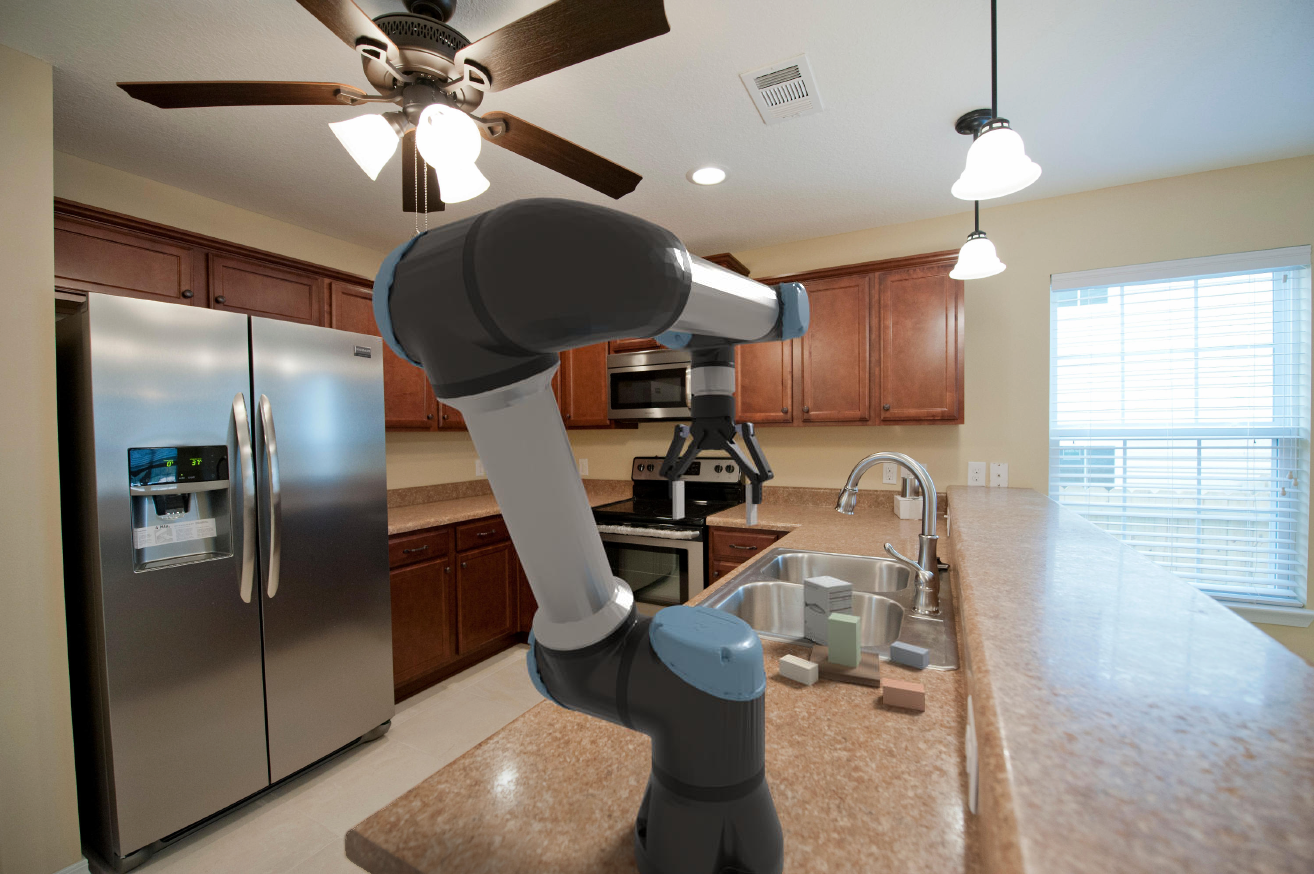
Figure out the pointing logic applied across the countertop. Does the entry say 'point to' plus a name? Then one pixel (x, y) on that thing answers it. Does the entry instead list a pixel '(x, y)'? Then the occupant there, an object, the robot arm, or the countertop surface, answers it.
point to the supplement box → (824, 605)
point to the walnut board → (848, 667)
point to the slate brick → (909, 655)
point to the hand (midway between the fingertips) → (713, 521)
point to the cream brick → (798, 669)
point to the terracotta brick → (903, 694)
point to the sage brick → (844, 639)
